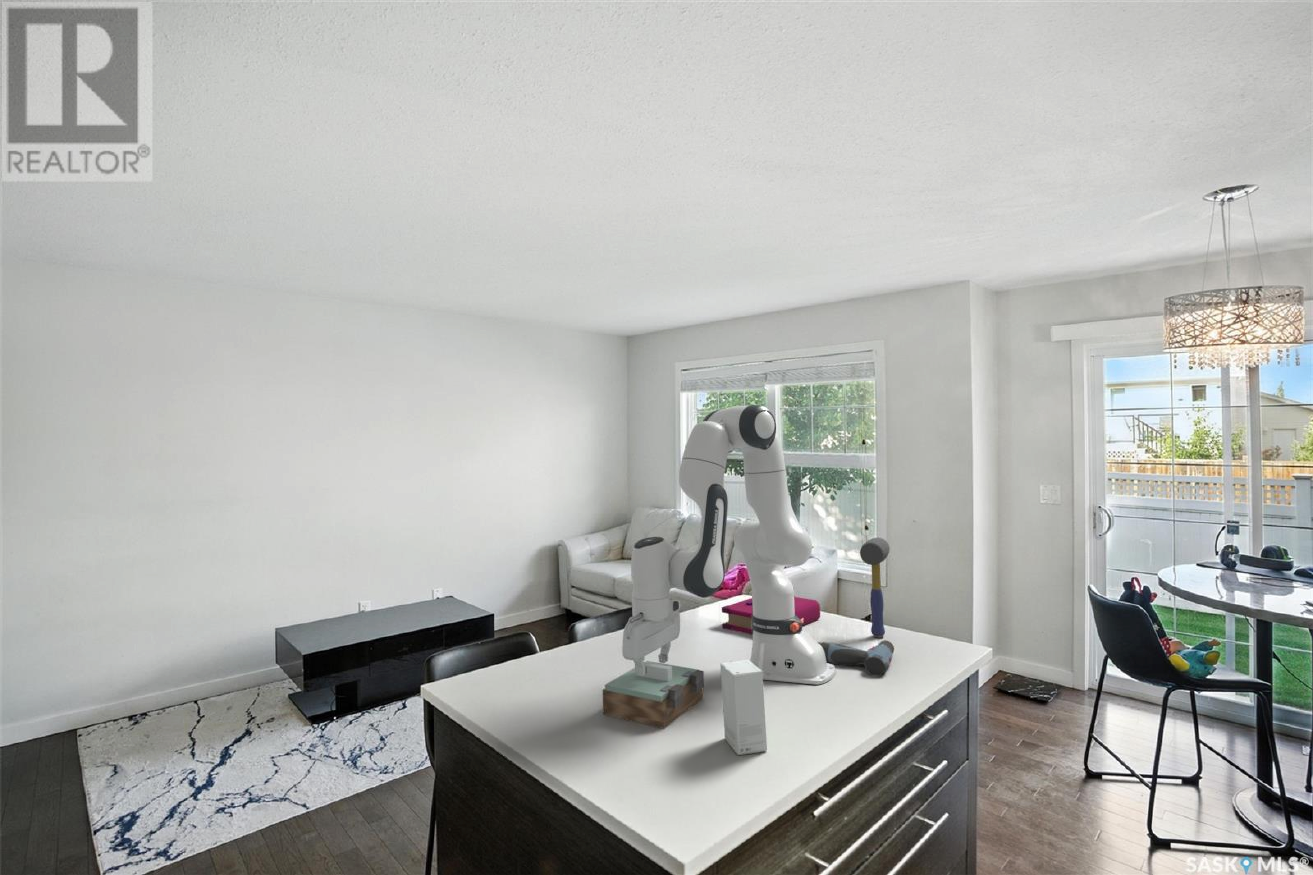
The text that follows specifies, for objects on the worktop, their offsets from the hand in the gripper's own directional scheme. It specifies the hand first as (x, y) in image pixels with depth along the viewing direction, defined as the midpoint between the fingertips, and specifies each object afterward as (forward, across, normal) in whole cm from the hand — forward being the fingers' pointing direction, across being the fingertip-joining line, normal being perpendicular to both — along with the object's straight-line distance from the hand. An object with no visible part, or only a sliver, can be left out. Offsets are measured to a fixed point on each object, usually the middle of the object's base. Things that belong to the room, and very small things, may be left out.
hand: (653, 668), depth 148 cm
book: (+10, +76, +1) cm, 77 cm away
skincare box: (+9, -8, -26) cm, 29 cm away
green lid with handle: (+3, 0, 0) cm, 3 cm away
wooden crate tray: (+9, 0, 0) cm, 9 cm away
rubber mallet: (+9, +76, -34) cm, 84 cm away
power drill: (+10, +52, -33) cm, 62 cm away
